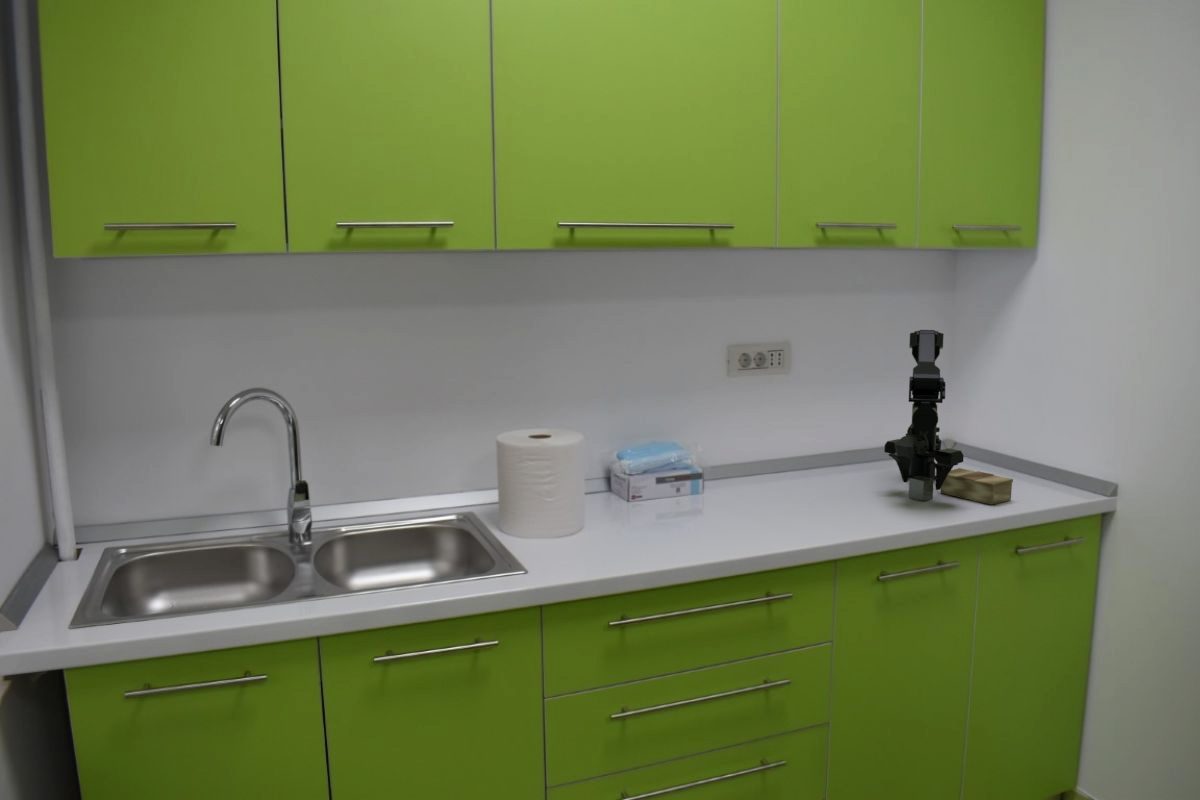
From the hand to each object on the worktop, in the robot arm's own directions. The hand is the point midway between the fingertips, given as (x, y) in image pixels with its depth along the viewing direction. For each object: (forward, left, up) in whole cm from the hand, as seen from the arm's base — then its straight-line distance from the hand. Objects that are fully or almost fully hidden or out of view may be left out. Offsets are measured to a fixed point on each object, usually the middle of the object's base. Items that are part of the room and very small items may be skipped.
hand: (921, 485), depth 214 cm
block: (0, 0, -3) cm, 3 cm away
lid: (+7, +12, +1) cm, 14 cm away
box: (+7, +12, -3) cm, 14 cm away
